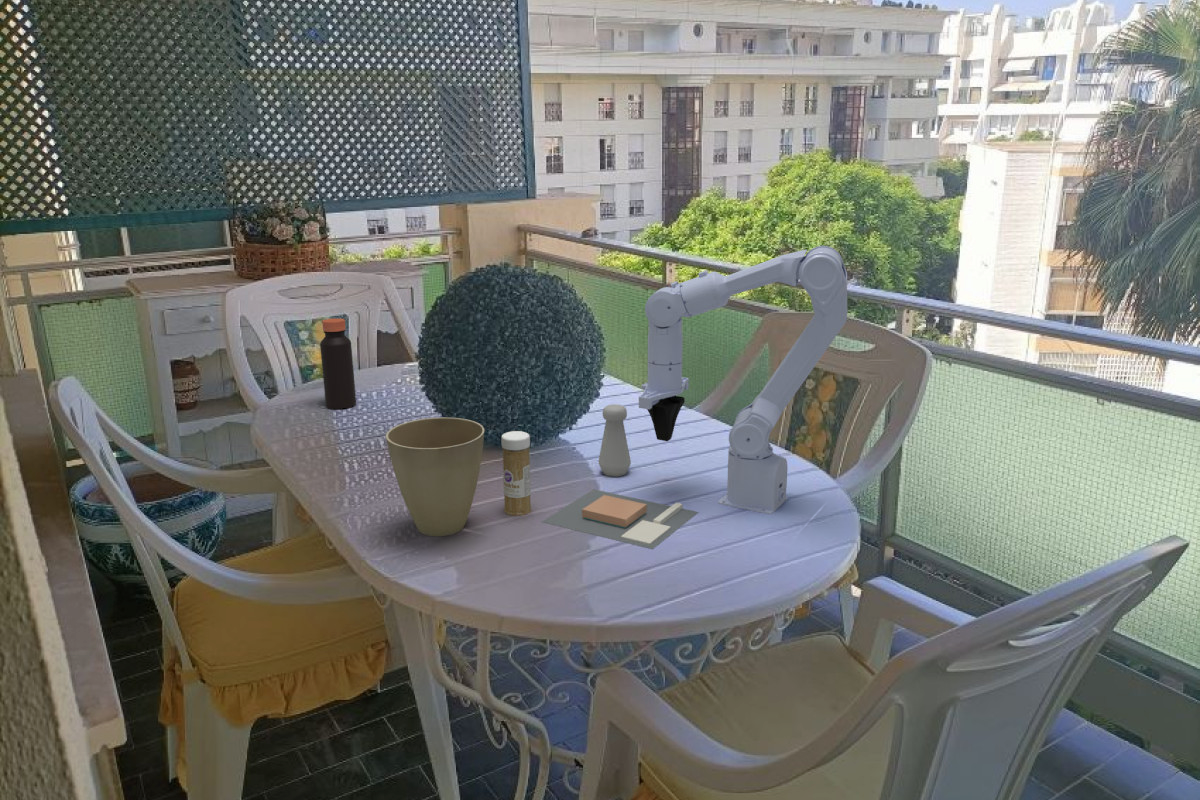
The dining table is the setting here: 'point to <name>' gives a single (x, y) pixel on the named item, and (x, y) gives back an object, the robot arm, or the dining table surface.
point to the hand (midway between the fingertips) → (664, 439)
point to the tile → (614, 511)
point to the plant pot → (437, 470)
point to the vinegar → (337, 365)
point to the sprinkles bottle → (516, 473)
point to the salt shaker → (614, 442)
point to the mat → (575, 521)
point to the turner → (652, 527)
